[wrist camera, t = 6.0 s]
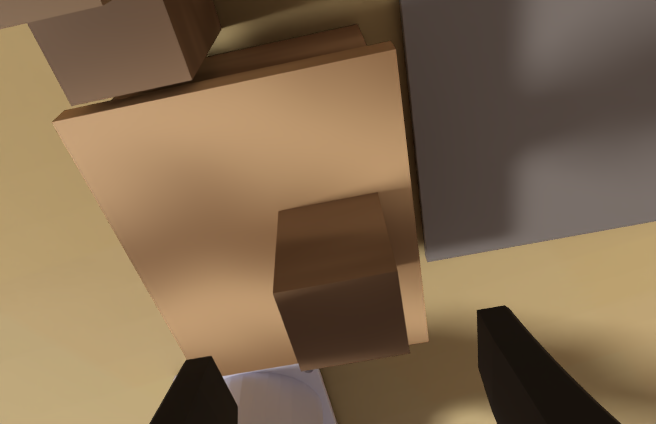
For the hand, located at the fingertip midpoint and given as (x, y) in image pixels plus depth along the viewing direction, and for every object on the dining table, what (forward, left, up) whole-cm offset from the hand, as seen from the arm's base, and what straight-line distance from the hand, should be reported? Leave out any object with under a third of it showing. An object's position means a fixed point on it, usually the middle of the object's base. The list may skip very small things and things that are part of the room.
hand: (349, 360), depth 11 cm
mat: (+1, -9, -10) cm, 13 cm away
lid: (0, +2, -5) cm, 6 cm away
